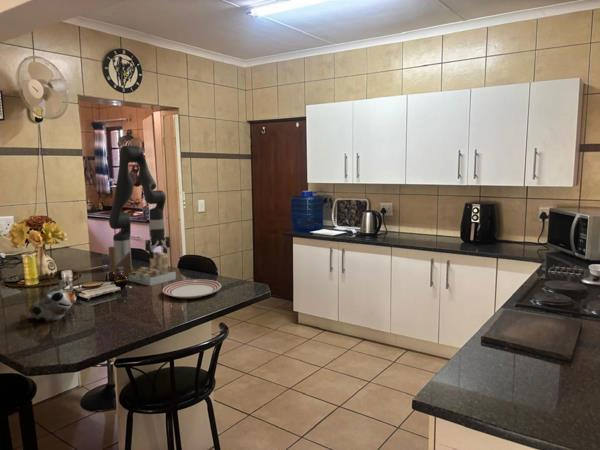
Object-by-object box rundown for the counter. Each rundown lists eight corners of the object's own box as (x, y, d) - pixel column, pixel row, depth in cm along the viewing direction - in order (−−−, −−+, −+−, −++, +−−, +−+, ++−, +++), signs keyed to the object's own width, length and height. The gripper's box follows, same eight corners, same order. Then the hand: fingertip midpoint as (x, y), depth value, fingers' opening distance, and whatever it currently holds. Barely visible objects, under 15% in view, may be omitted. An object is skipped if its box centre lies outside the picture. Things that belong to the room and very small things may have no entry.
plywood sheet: (150, 277, 244) (149, 252, 242) (154, 276, 246) (153, 251, 244) (164, 280, 237) (163, 254, 236) (168, 279, 239) (167, 253, 238)
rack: (128, 280, 237) (128, 273, 236) (154, 274, 250) (154, 267, 250) (150, 285, 226) (149, 278, 226) (175, 279, 240) (175, 271, 239)
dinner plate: (207, 303, 197) (207, 296, 197) (151, 300, 203) (151, 293, 202) (229, 287, 224) (229, 280, 224) (179, 284, 229) (179, 278, 229)
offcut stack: (132, 280, 236) (132, 269, 235) (143, 278, 242) (143, 266, 241) (149, 284, 228) (148, 272, 227) (160, 281, 234) (159, 270, 233)
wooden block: (131, 278, 242) (130, 245, 239) (110, 281, 236) (108, 247, 234) (130, 276, 245) (128, 244, 242) (109, 279, 239) (107, 246, 237)
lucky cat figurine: (58, 309, 189) (72, 281, 188) (71, 325, 183) (86, 297, 182) (22, 309, 176) (37, 279, 175) (35, 326, 170) (51, 295, 169)
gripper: (163, 225, 246) (164, 254, 248) (141, 228, 234) (143, 258, 237) (172, 226, 242) (173, 255, 244) (150, 229, 230) (151, 260, 232)
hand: (158, 257), depth 240 cm, fingers open, 8 cm apart
